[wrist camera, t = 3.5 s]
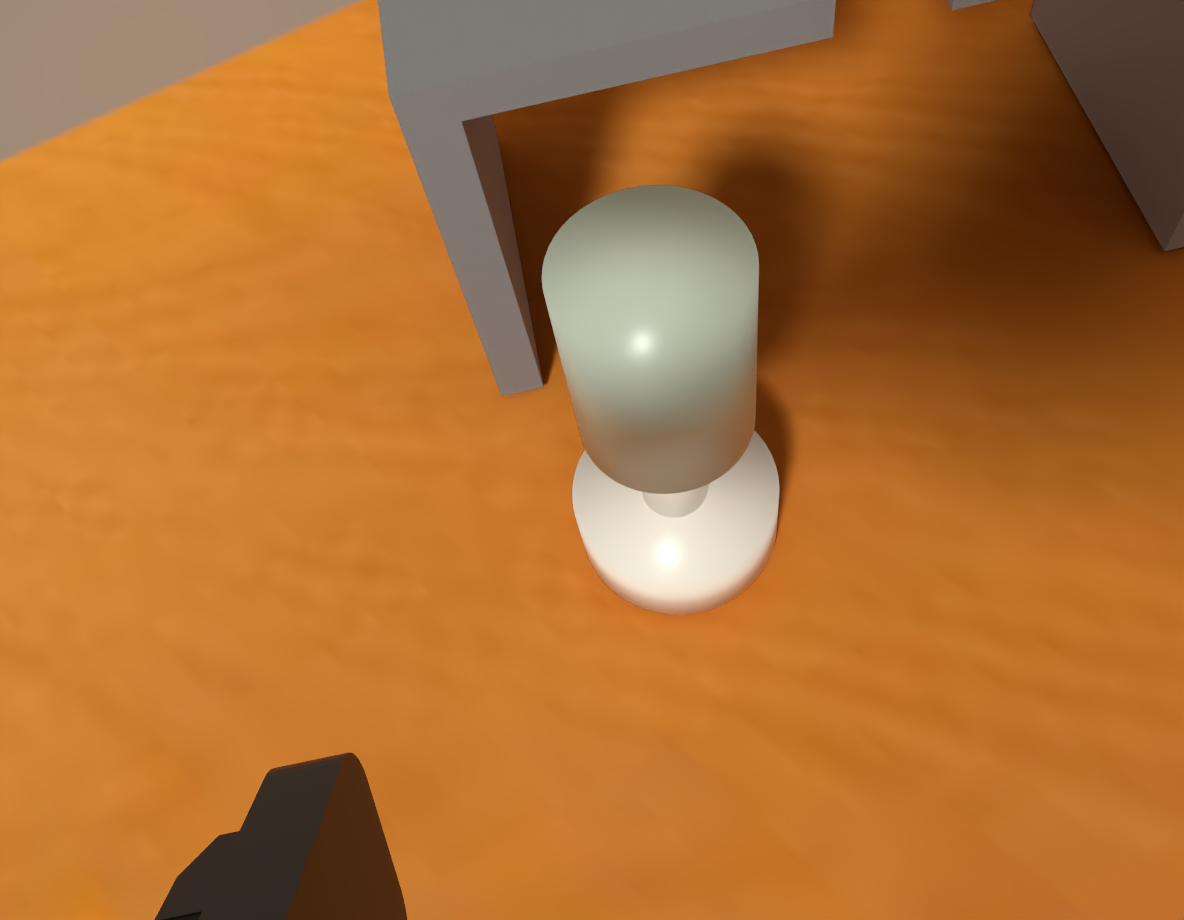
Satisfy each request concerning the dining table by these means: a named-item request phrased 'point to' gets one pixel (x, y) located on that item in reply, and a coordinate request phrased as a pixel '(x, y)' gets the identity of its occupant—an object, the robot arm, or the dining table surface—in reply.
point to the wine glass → (664, 395)
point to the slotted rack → (691, 40)
